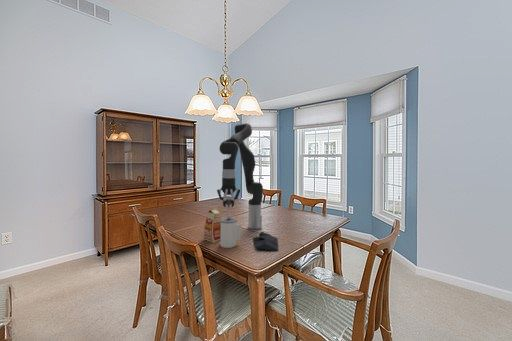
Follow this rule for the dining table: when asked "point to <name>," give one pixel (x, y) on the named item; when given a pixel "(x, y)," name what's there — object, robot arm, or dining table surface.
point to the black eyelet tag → (266, 242)
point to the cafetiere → (229, 232)
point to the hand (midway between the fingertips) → (228, 206)
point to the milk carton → (212, 226)
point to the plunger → (228, 205)
